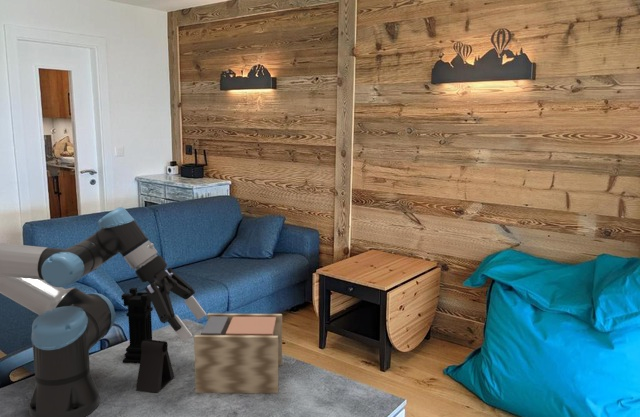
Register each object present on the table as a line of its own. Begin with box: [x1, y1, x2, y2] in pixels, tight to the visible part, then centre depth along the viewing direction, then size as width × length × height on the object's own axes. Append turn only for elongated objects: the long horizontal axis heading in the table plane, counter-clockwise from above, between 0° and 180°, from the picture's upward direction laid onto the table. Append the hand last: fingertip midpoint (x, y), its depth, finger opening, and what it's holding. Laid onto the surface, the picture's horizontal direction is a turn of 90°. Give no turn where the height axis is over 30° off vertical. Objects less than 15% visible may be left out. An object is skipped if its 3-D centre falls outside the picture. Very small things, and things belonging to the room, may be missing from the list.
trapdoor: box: [200, 316, 276, 336], centre depth 139 cm, size 18×12×4 cm, turn 90°
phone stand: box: [135, 339, 175, 394], centre depth 136 cm, size 9×6×12 cm, turn 167°
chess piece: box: [120, 287, 155, 364], centre depth 151 cm, size 8×8×20 cm
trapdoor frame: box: [193, 312, 283, 394], centre depth 140 cm, size 21×17×15 cm
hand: (195, 327), depth 136 cm, fingers open, 13 cm apart
